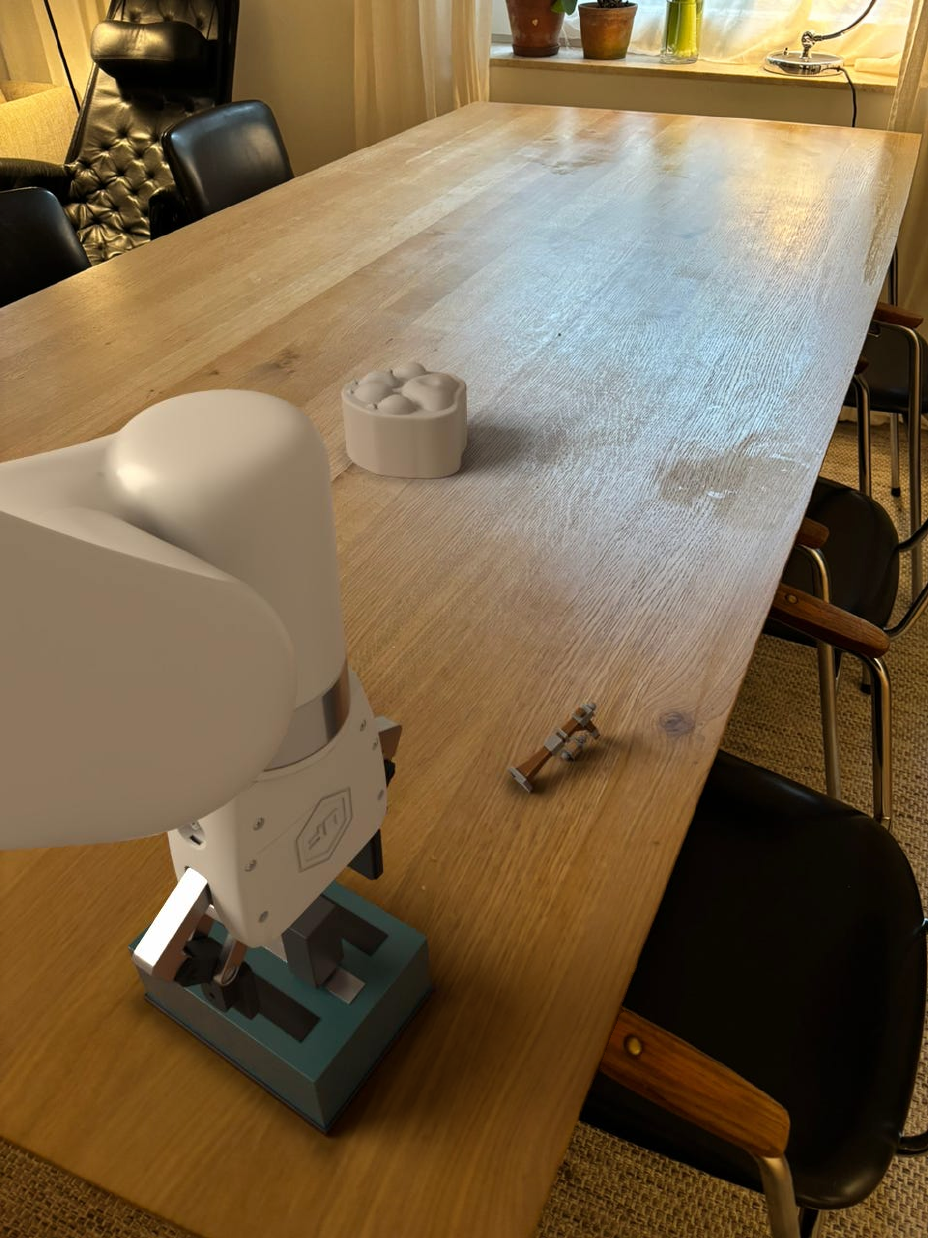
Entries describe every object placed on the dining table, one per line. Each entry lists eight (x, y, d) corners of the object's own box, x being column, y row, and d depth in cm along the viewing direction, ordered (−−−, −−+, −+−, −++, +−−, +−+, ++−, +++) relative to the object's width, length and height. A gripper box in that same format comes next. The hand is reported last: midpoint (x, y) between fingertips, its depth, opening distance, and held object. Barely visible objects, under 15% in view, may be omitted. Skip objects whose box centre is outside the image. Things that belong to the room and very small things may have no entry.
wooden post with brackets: (614, 732, 75) (600, 704, 72) (539, 806, 74) (521, 782, 71) (598, 718, 77) (583, 690, 73) (524, 791, 75) (505, 766, 72)
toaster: (326, 1138, 54) (314, 1088, 50) (144, 1001, 60) (120, 946, 56) (436, 990, 61) (433, 935, 57) (261, 879, 67) (247, 823, 63)
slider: (317, 990, 54) (306, 939, 51) (289, 972, 55) (276, 920, 51) (345, 957, 55) (336, 905, 52) (317, 939, 56) (307, 887, 53)
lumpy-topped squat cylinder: (455, 481, 104) (454, 407, 98) (335, 472, 106) (327, 398, 100) (471, 431, 112) (470, 360, 106) (358, 423, 113) (352, 353, 108)
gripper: (164, 877, 34) (234, 1109, 45) (451, 613, 45) (452, 850, 56) (23, 783, 37) (121, 1021, 48) (324, 559, 48) (348, 793, 59)
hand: (299, 929), depth 52 cm, fingers open, 9 cm apart
